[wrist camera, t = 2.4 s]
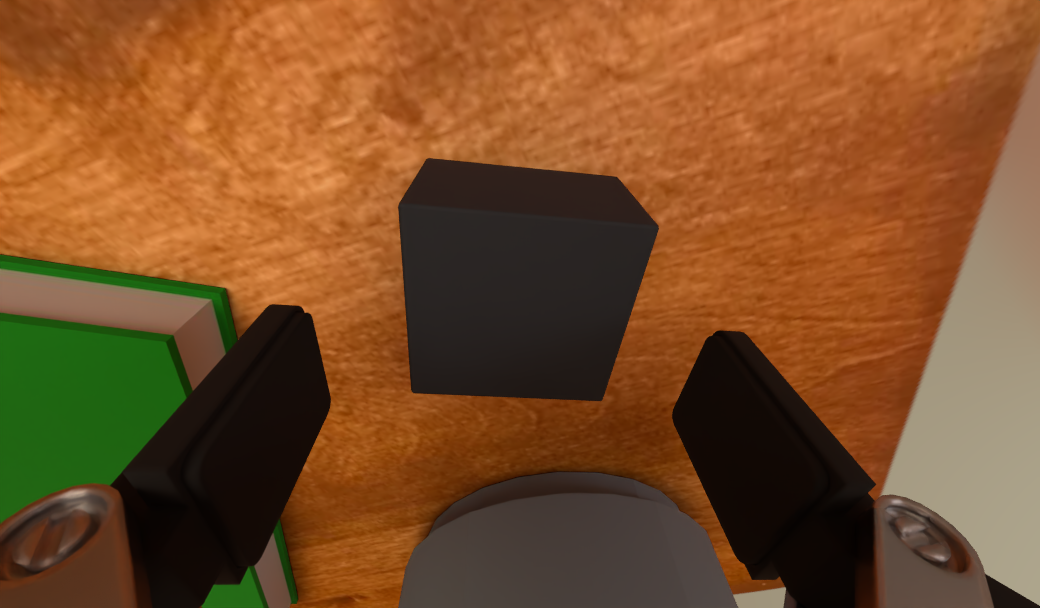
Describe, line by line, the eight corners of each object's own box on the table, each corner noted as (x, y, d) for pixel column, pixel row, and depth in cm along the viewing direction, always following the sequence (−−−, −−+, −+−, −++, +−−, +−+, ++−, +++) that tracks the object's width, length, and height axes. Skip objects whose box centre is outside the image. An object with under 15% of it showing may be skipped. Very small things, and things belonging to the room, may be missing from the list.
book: (225, 288, 14) (165, 341, 12) (298, 598, 29) (279, 650, 27) (-681, 152, 10) (-1045, 187, 8) (-61, 585, 26) (-121, 643, 23)
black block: (618, 176, 12) (661, 226, 9) (581, 326, 16) (602, 402, 12) (426, 157, 12) (396, 203, 8) (430, 316, 15) (410, 394, 12)
